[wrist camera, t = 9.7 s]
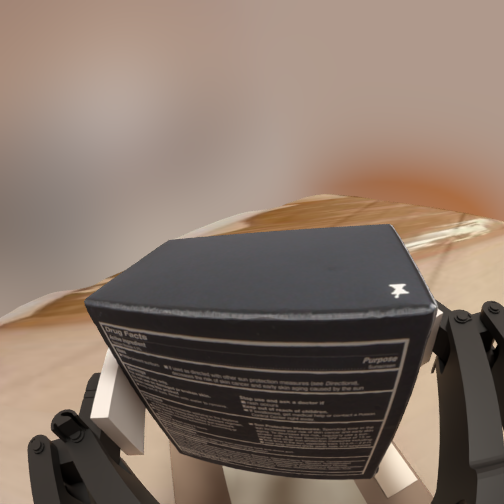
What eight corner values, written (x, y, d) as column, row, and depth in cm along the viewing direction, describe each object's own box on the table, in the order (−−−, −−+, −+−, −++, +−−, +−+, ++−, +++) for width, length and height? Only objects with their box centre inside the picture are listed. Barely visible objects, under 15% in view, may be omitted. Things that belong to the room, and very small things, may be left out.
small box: (376, 385, 14) (395, 216, 10) (375, 481, 8) (454, 312, 4) (216, 378, 17) (168, 232, 13) (176, 455, 12) (73, 302, 8)
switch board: (197, 580, 8) (189, 581, 7) (173, 434, 24) (167, 426, 23) (428, 503, 11) (436, 498, 10) (345, 385, 27) (346, 375, 26)
